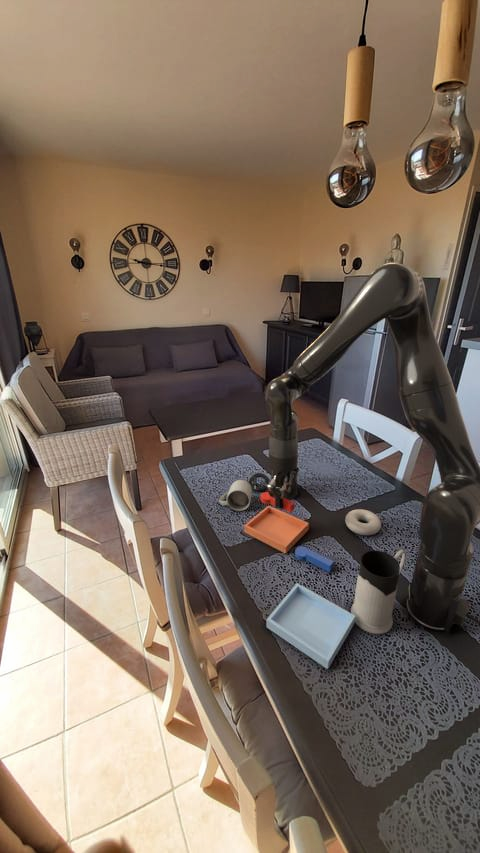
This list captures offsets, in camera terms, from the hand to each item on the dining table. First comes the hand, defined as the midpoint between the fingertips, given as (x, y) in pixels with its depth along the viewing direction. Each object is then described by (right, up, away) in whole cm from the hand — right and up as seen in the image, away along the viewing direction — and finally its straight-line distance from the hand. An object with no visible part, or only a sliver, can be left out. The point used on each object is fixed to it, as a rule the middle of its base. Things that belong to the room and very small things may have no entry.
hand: (281, 505), depth 101 cm
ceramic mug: (-13, -4, +18) cm, 22 cm away
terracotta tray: (-1, -9, +5) cm, 10 cm away
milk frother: (0, 0, +25) cm, 25 cm away
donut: (+24, -8, +6) cm, 26 cm away
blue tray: (+3, -21, -23) cm, 32 cm away
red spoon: (-1, 0, +1) cm, 2 cm away
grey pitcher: (+19, -19, -20) cm, 34 cm away
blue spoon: (+8, -13, -6) cm, 17 cm away
